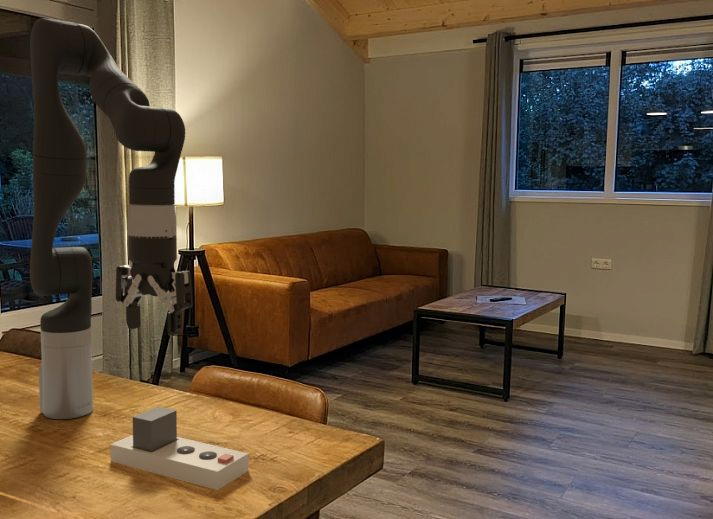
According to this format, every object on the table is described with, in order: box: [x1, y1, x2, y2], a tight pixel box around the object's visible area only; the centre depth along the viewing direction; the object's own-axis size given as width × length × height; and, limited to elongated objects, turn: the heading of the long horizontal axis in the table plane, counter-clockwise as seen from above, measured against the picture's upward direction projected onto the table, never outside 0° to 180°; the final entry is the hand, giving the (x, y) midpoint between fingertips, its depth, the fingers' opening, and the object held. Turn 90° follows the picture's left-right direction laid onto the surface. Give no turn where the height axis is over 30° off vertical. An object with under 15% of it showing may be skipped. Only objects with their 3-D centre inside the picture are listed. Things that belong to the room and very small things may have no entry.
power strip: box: [110, 434, 249, 491], centre depth 114 cm, size 23×8×4 cm, turn 64°
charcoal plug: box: [132, 406, 178, 452], centre depth 116 cm, size 4×6×8 cm, turn 154°
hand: (153, 331), depth 114 cm, fingers open, 8 cm apart
